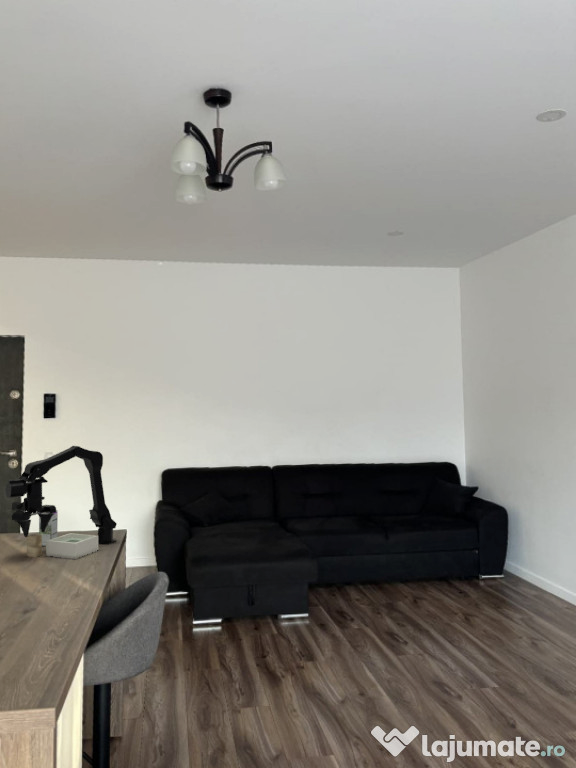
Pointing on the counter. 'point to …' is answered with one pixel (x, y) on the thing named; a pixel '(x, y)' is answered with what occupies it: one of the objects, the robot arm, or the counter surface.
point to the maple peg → (34, 545)
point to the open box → (72, 545)
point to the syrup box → (49, 529)
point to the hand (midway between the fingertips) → (34, 534)
